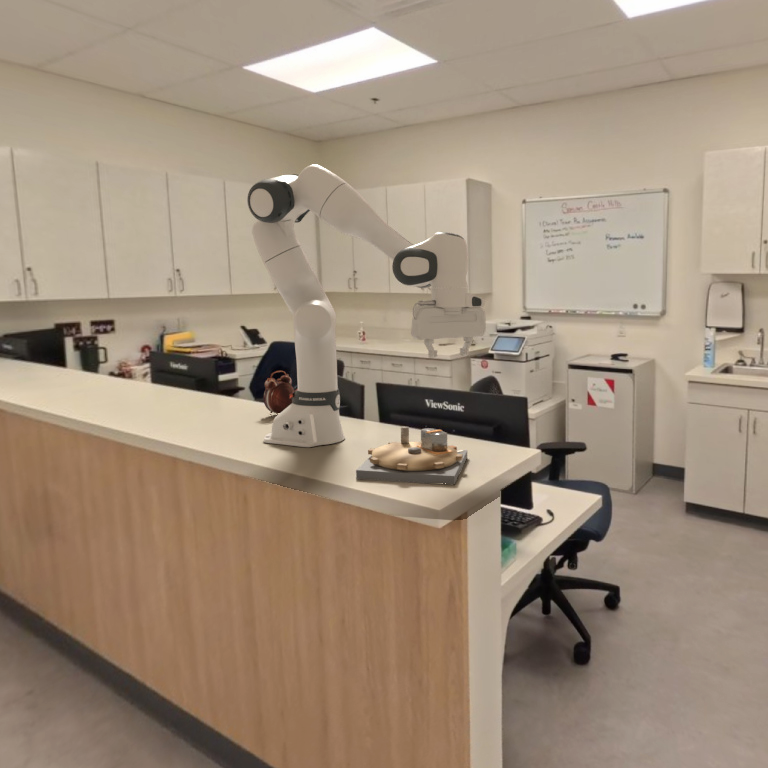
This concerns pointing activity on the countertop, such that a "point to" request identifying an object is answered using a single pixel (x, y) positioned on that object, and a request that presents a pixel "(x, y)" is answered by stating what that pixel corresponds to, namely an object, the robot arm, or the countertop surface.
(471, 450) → the countertop surface
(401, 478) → the index base
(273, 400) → the alarm clock
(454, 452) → the sprocket disc
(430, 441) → the silver toaster
